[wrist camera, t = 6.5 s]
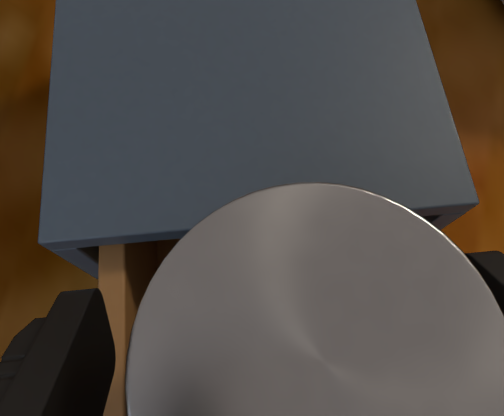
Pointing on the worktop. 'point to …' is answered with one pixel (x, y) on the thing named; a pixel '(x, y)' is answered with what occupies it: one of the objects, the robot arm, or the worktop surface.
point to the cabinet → (237, 114)
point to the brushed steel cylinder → (316, 314)
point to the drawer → (126, 300)
